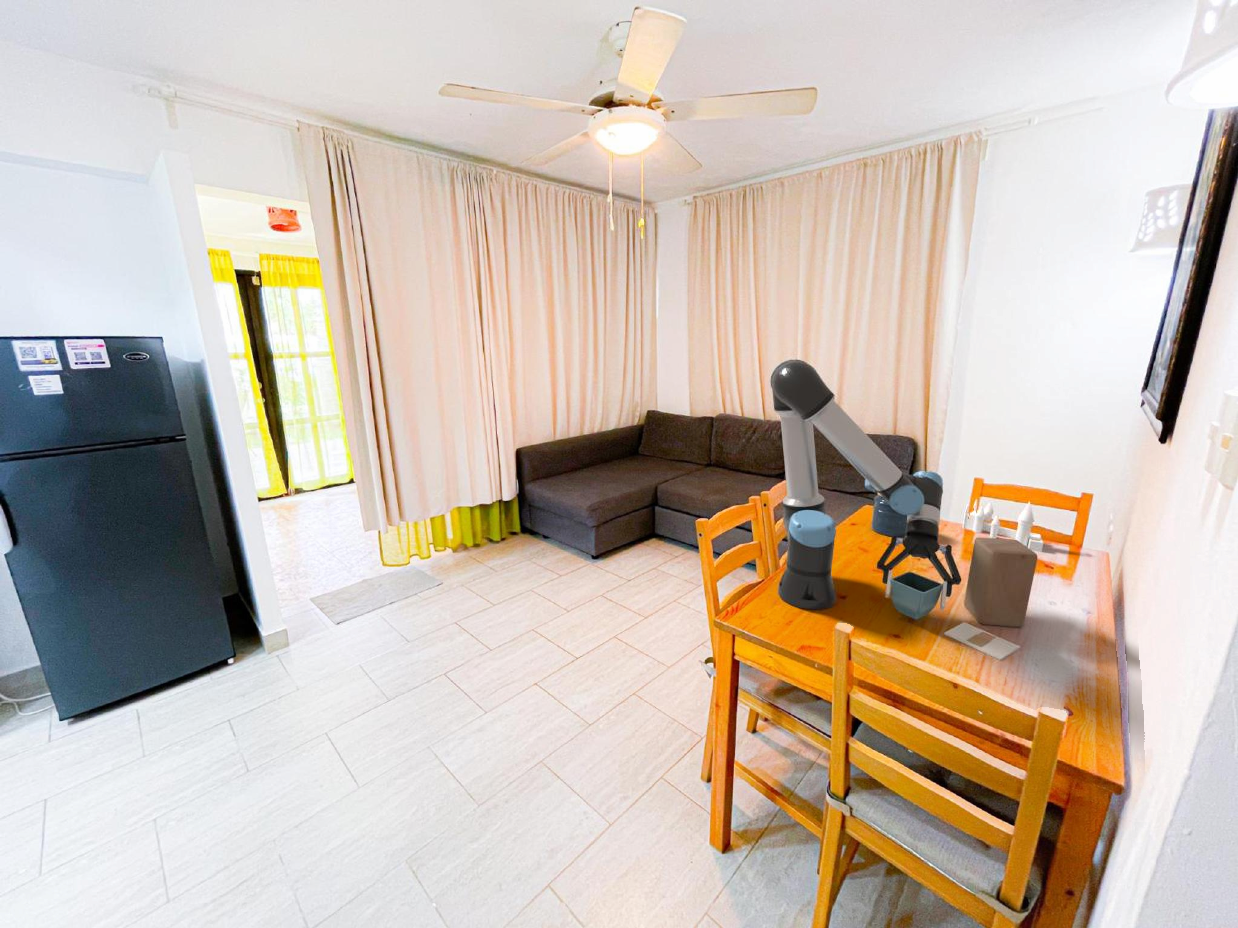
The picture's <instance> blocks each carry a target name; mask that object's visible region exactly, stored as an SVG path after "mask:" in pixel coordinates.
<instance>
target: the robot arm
mask: <svg viewBox="0 0 1238 928" xmlns="http://www.w3.org/2000/svg"><path fill="white" fill-rule="evenodd" d="M769 381H770V383H769V384H770V388H771V390H772V399H773V400H772V402H773V411H774V412H775V413H777V414H778V415H779V417H780V428H781V436H782V437H781V438H782V439H781V441H782V449H783V460H784V471H785V483H786V493H787V494H786V495H785V496H784V497H783V499H782V509H783V516H782V521H783V526H784V529H785V532H786V538H787V556H786V557H787V558H786V567H785V569H784V572H783V574H782V575H781V578H780V580H779V583H778V585H777V586H778V588H777V594H778V596H779V598H781V600H783V601H784V602H785V603H787V604H789V605H791V606H794V607H797V608H801V609H806V610H814V611H815V610H816V611H817V610H826V609H829V608H831V607H832V606H834V605H835V603H836V600H837V599H836V597H837V594H836V593H837V592H836V589H835V586H834V581H833V576H832V567H833V557H834V550H835V549H834V548H835V540H836V539H835V538H836V536H837V535H836V534H837V529H836V522H835V520H834V518H832V517H831V516H830V515H829V514H826V504H825V497H824V496H823V495H822V494H820V493H819V486H818V474H817V473H818V472H817V460H816V459H817V458H816V447H815V446H816V445H815V435H814V431H815V430H814V427H815V428H816V429H817V430H818V431H819V432H820V433H821V434H822V435H823V436H824V437H825V438H826V439H827V440H828V441H829V443H831V444H832V446H834V448H836V450H837V451H839V453H840V454H841V455H842V456H843V457H844V458H845V459H846V460H847V462H849V463H850V464H851V465H852V467H854V468H855V470H856V471H858V473H859V474H860V475H861V476H862V477H863V478H864V487H865V488H866V489H867V490H869V491H870V492H873V493H879V494H880V495H881V496H882V497H883V498H884V499H885V500H886V501H887V502H888V503H889V504H890V506H891V507H892V508H893V509H894V510H895V511H897V512H898V513H900V514H903V515H908V516H907V522H908V523H907V524H906V532H905V536H903V538H902V537H896V536H891V540H890V543H889V544H888V546H887V548H886V549H885V550H884V552H883V554H882V555H881V557H880V558H879V560H878V561H877V562H876V569H877V570H880V571H882V572H883V573H882V580H881V581H882V584H884V585H886V589H885V596H884V597H885V598H890V592H891V587H890V579H891V578H892V575H893V569H894V568H895V567H897V566H898V565H900V563H902V562H903V561H904V560H905V559H906V558H908V557H909V556H911V557H912V558H920V559H923V560H926V559H928V561H929V562H930V563H931V564H932V566H933V567H934V569H935V570H936V571H937V573H938V575H939V576H940V577H941V579H942V580H943V581H942V584H943V587H942V590H941V594H940V606H939V610H942V611H944V610H945V608H946V603H947V602H946V600H947V598H950V597H951V595H952V591H953V590H952V589H953V585H957V586H959V585H960V584H961V583H962V580H963V579H962V577H961V574H960V572H959V570H958V566H957V564H956V561H955V559H954V555H953V553H952V552H953V551H952V550H953V547H952V545H951V544H947V545H943V544H942V545H941V544H939V541H938V540H939V533H940V532H939V531H940V528H939V526H940V521H941V509H942V508H941V507H942V499H943V498H942V497H943V494H944V490H943V484H944V482H943V477H942V476H941V475H940V474H939V473H937V472H934V471H931V470H928V471H927V470H921V471H916V472H914V473H913V475H912V474H908V473H906V472H902V470H900V469H899V467H898V466H897V465H896V463H894V462H893V461H892V460H891V459H890V458H889V457H888V455H886V454H885V452H884V451H882V449H881V448H880V447H879V446H878V445H877V444H876V443H875V442H874V441H873V440H872V439H871V438H870V437H869V436H868V434H867V433H865V432H864V431H863V429H862V428H861V427H860V426H859V425H858V424H857V423H856V422H855V421H854V420H853V419H852V418H851V417H850V416H849V415H848V414H847V413H846V411H844V409H843V408H842V407H841V406H840V405H839V404H838V403H837V402H836V400H835V397H836V396H835V393H834V392H833V391H831V389H830V388H829V387H828V385H826V383H825V382H824V381H823V379H822V378H821V376H820V375H819V373H818V372H817V369H816V368H814V367H813V366H812V365H811V364H809V363H808V362H805V361H804V360H801V359H798V358H797V359H789V360H785V361H783V362H781V363H779V365H777V366H776V367H775V368H774V369H773V371H772V373H771V376H770V380H769ZM900 545H903V547H904V549H903V550H901V551H900V553H898V554H897V555H896V556H894V558H892V559H891V560H890V561H889V562H888V563H886V562H887V561H888V559H889V558H890V556H891V555H892V553H893V552H894V550H895V549H896V547H899V546H900ZM938 551H940V552H941V554H942V555H944V559H945V562H946V565H947V567H948V570H949V572H950V573H949V572H948V571H947V568H945V566H944V565H943V563H942V562H941V560H940V558H939V557H938V555H937V554H936V553H937V552H938Z"/></svg>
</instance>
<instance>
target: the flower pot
mask: <svg viewBox="0 0 1238 928" xmlns="http://www.w3.org/2000/svg"><path fill="white" fill-rule="evenodd" d="M942 587H943V583H940V582H938V581H936V580H933V579H930V578H928V577H925V576H922V575H920V574H917V573H915V572H912V571H906V572H904V573H902V574H900V575H897V576H894V577H891V579H890V598H891V601H892V604H893V606H894V608H895V609H896V611H897V612H899V613H900V614H903V615H905V616H907V617H909V618H911V619H913V620H919V619H921V618H923V617H926V616H927V615H929V614H930V613H931V612H932V611H933V609H934V608H935V607H936V606H937V604H938V601H939V600H940V598H941V592H942Z"/></svg>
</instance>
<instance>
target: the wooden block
mask: <svg viewBox="0 0 1238 928" xmlns="http://www.w3.org/2000/svg"><path fill="white" fill-rule="evenodd" d="M1038 559H1039V558H1038V554H1037V553H1036V551H1035V552H1034V551H1033V550H1030V549H1029V548H1028V546H1027V547H1026V546H1025V545H1023V544H1022V543H1020V542H1019V541H1017V540H1015V539H1014V538H1012V539H1011V538H990V537H975V539H974V542H973V549H972V553H971V560H970V566H969V572H968V578H967V581H966V582H967V584H966V587H965V594H964V600H963V604H964V607H965V608H966V609H967V610H968V612H970V614H971V615H972V616H973V617H974V618H975V620H976V621H977V622H978V623H980V624H982V625H989V626H990V625H991V626H1001V627H1011V628H1012V627H1013V628H1023V627H1024V625H1025V621H1026V615H1027V611H1028V606H1029V600H1030V597H1031V596H1030V595H1031V591H1032V588H1033V587H1032V586H1033V582H1034V577H1035V572H1036V567H1037V563H1038Z"/></svg>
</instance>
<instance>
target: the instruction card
mask: <svg viewBox="0 0 1238 928" xmlns="http://www.w3.org/2000/svg"><path fill="white" fill-rule="evenodd" d="M944 636H947V637H950V638H952V639H953V640H956V641H959V642H960V643H963V644H964V645H967V646H969V647H971V648H973V649H975V650H978V651H980V652H982V653H984V654H985V655H988V656H990V657H993V658H994V659H996V660H999V661H1002V660H1003V659H1005V658H1006V657H1008V656H1010V655H1012V653H1014V652H1016V651H1017V650H1019V649H1020V648H1021V646H1020V645H1017V644H1015V643H1013V642H1010V641H1008V640H1006V639H1004V638H1001V637H1000V636H997V635H994V634H993V633H990V632H988V631H985V630H983V629H980V628H979V627H976V626H974V625H972V624H969V623H967V622H961V623H960V624H958V625H957V626H954V627H953V628H950V629H949V630H947V631H945V632H944Z"/></svg>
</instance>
